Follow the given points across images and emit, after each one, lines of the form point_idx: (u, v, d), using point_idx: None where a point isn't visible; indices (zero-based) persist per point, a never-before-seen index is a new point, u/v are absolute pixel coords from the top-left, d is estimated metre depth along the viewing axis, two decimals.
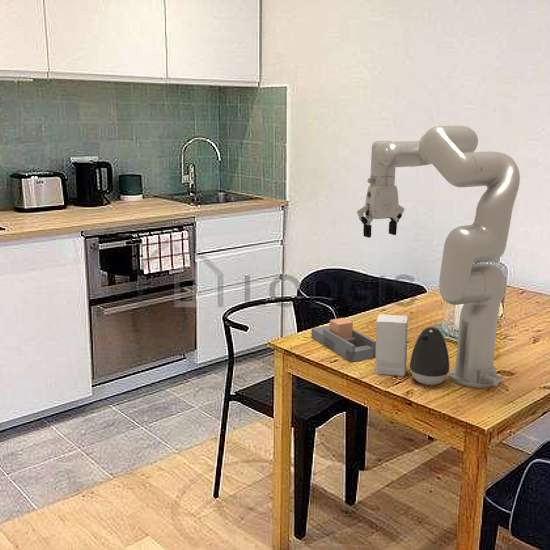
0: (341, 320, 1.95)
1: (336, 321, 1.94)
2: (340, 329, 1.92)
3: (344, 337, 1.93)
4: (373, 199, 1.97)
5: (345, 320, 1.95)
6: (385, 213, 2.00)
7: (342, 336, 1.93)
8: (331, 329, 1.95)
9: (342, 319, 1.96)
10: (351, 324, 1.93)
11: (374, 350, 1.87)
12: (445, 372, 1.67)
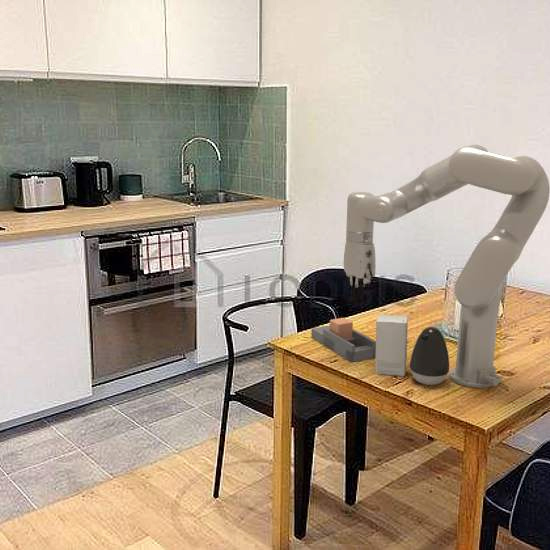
0: (341, 320, 1.95)
1: (336, 321, 1.94)
2: (340, 329, 1.92)
3: (344, 337, 1.93)
4: (374, 256, 1.79)
5: (345, 320, 1.95)
6: None
7: (342, 336, 1.93)
8: (331, 329, 1.95)
9: (342, 319, 1.96)
10: (351, 324, 1.93)
11: (374, 350, 1.87)
12: (445, 372, 1.67)
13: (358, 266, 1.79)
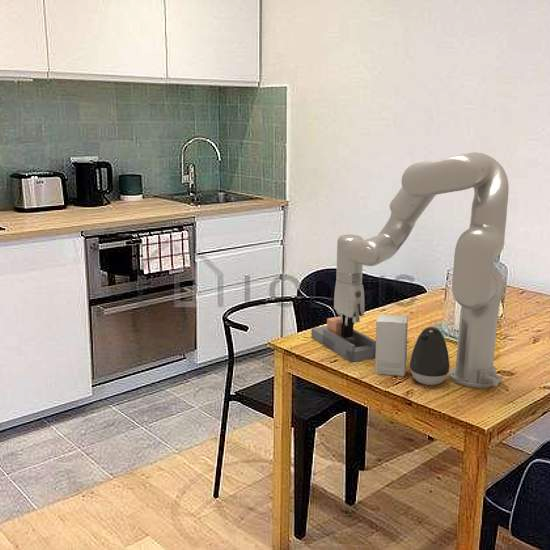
0: (338, 319, 1.96)
1: (333, 320, 1.95)
2: (337, 327, 1.93)
3: None
4: (363, 297, 1.86)
5: None
6: None
7: (339, 334, 1.94)
8: (328, 328, 1.96)
9: (339, 318, 1.97)
10: None
11: (374, 350, 1.87)
12: (445, 372, 1.67)
13: (348, 306, 1.86)
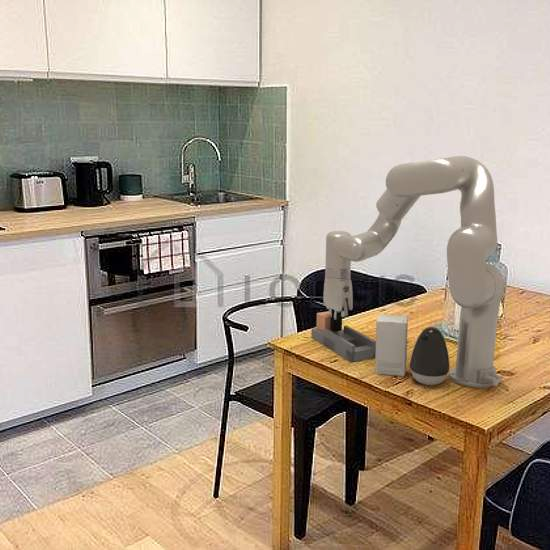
0: (327, 313, 2.01)
1: (323, 314, 2.01)
2: (326, 322, 1.98)
3: (330, 330, 2.00)
4: None
5: None
6: None
7: (328, 329, 1.99)
8: (318, 322, 2.02)
9: (329, 312, 2.02)
10: None
11: (374, 350, 1.87)
12: (445, 372, 1.67)
13: (336, 300, 1.91)
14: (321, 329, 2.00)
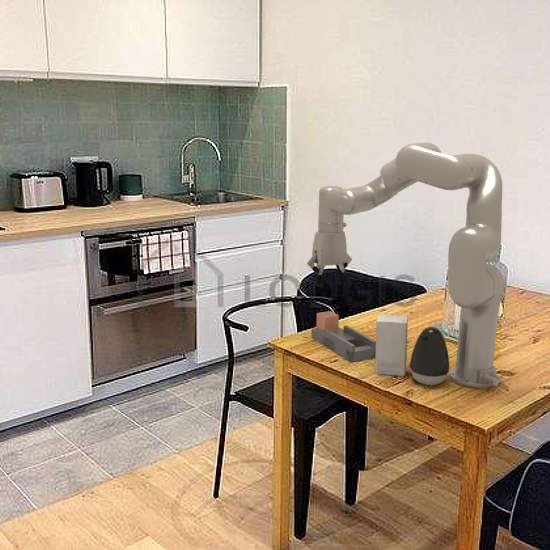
0: (328, 313, 2.01)
1: (323, 314, 2.01)
2: (326, 322, 1.98)
3: (330, 330, 2.00)
4: None
5: (331, 313, 2.02)
6: None
7: (328, 329, 1.99)
8: (318, 322, 2.02)
9: (329, 312, 2.02)
10: (337, 317, 2.00)
11: (374, 350, 1.87)
12: (445, 372, 1.67)
13: (343, 252, 1.95)
14: (321, 329, 2.00)
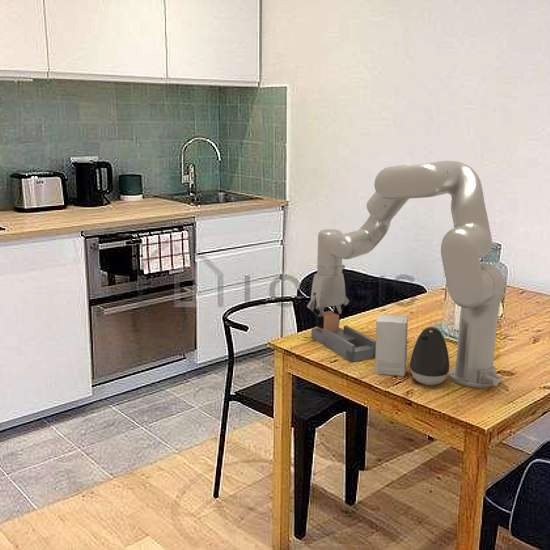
0: (328, 313, 2.01)
1: (323, 314, 2.01)
2: (327, 321, 1.98)
3: (331, 329, 2.00)
4: None
5: (332, 313, 2.02)
6: None
7: (329, 328, 1.99)
8: None
9: (329, 312, 2.03)
10: (338, 317, 2.00)
11: (374, 350, 1.87)
12: (445, 372, 1.67)
13: (341, 294, 1.99)
14: (321, 329, 2.00)
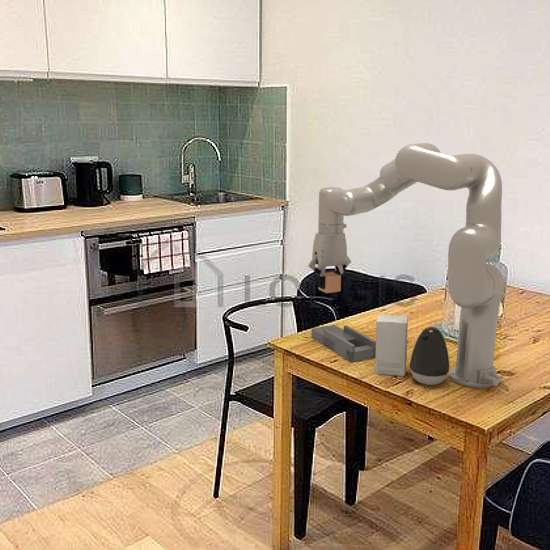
0: (329, 274, 1.98)
1: (325, 274, 1.97)
2: (328, 281, 1.95)
3: (332, 290, 1.96)
4: None
5: (333, 274, 1.98)
6: None
7: (330, 289, 1.96)
8: None
9: (331, 273, 1.99)
10: (339, 277, 1.97)
11: (374, 350, 1.87)
12: (445, 372, 1.67)
13: (343, 253, 1.95)
14: (323, 289, 1.97)
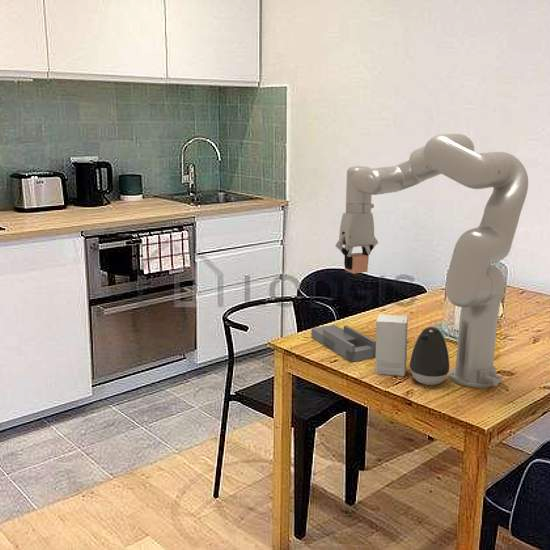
0: (356, 254, 1.96)
1: (351, 255, 1.95)
2: (355, 262, 1.93)
3: (359, 270, 1.95)
4: None
5: (360, 254, 1.96)
6: None
7: (357, 269, 1.94)
8: None
9: (357, 253, 1.97)
10: (367, 257, 1.95)
11: (374, 350, 1.87)
12: (445, 372, 1.67)
13: (370, 234, 1.94)
14: (350, 270, 1.95)
